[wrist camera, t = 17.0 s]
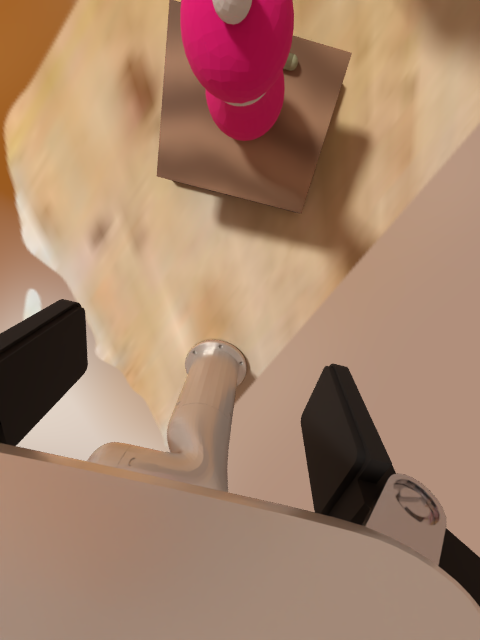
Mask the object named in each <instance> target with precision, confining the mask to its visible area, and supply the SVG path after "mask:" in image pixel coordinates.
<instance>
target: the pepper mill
mask: <svg viewBox="0 0 480 640" xmlns="http://www.w3.org/2000/svg"><path fill="white" fill-rule="evenodd" d="M180 27H181V36H182V42H183V46H184V50H185V54H186V57H187V60H188V62H189V65H190V67H191V69H192V72H193V73H194V75H195V76H196V78H197V79H198V81H199V82H200V83H201V85H202V86H203V87H204V88H205V89H206V93H205V94H206V100H207V105H208V108H209V111H210V114H211V116H212V119H213V121H214V122H215V124H216V125H217V127H218V128H219V129H220V130H221V131H222V132H223V133H225V134H226V135H227V136H229V137H231V138H233V139H236V140H241V141H248V140H254V139H256V138H259V137H260V136H262V135H264V134H265V133H266V132H267V131H269V130H270V128H271V127H272V126H273V125H274V123H275V122H276V120H277V119H278V116H279V114H280V112H281V109H282V106H283V101H284V92H285V85H284V74H283V68H284V66H285V64H286V61H287V59H288V56H289V52H290V49H291V44H292V36H293V28H294V11H293V2H292V0H181V8H180Z"/></svg>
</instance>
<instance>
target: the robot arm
mask: <svg viewBox="0 0 480 640" xmlns="http://www.w3.org/2000/svg"><path fill="white" fill-rule="evenodd" d="M87 365H88V361H87V341H86V320H85V310H84V308H81V305H80V304H79V303H77V302H72V301H69V300H64V299H61V300H59V301H57V302H55V303H53V304H52V305H50V306H49V307H46V308H45V309H43V310H41V311H39V312H38V313H36V314H34V315H32V316H31V317H29V318H27V319H25V320H24V321H22V322H20V323H18V324H17V325H15V326H13V327H11V328H10V329H8V330H6V331H4V332H3V333H1V334H0V640H480V557H478V556H477V555H476V554H475V553H474V552H472V550H470V549H469V548H468V547H467V546H466V545H465V544H464V543H462V542H461V541H460V540H459V539H458V538H457V537H456V536H454V535H453V534H452V533H451V532H450V531H449V530H448V529H446V516H445V513H444V510H443V508H442V506H441V505H440V503H439V501H438V500H437V498H436V497H435V496H434V495H433V494H432V493H431V491H430V490H428V489H427V488H426V487H425V486H424V485H423V484H422V483H420V482H419V481H417V480H416V479H414V478H412V477H410V476H407V475H405V474H398V473H397V474H396V473H395V471H394V468H393V466H392V462H391V460H390V458H389V456H388V454H387V452H386V449H385V447H384V445H383V443H382V441H381V438H380V436H379V434H378V432H377V430H376V428H375V426H374V423H373V421H372V419H371V417H370V415H369V412H368V410H367V408H366V406H365V404H364V402H363V400H362V397H361V395H360V393H359V391H358V389H357V386H356V384H355V382H354V380H353V378H352V375H351V373H350V371H349V369H348V368H347V367H344V366H340V365H336V364H331V365H330V366H326V367H325V368H324V369H323V372H322V374H321V376H320V378H319V380H318V382H317V384H316V387H315V388H314V390H313V393H312V395H311V397H310V399H309V401H308V403H307V405H306V408H305V409H304V412H303V414H302V417H301V427H302V433H303V440H304V446H305V452H306V459H307V466H308V472H309V478H310V485H311V491H312V497H313V504H314V510H315V513H314V512H310V511H306V510H302V509H298V508H293V507H290V506H285V505H282V504H277V503H273V502H268V501H264V500H259V499H255V498H250V497H246V496H241V495H237V494H232V493H228V480H227V479H228V478H227V461H228V448H229V440H230V431H231V423H232V416H233V408H234V401H235V393H236V387H237V386H238V385H239V384H241V382H242V381H243V380H244V377H245V375H246V361H245V358H244V356H243V355H242V353H241V352H240V351H239V350H238V349H237V348H236V347H234V346H233V345H231V344H229V343H227V342H224V341H221V340H207V341H203V342H200V343H198V344H196V345H195V346H194V347H193V348H192V349H191V350H190V351H189V353H188V355H187V357H186V361H185V369H186V372H187V374H188V376H187V378H186V381H185V383H184V386H183V388H182V391H181V393H180V396H179V398H178V401H177V403H176V406H175V408H174V411H173V413H172V416H171V419H170V421H169V424H168V429H167V440H168V445H169V449H170V452H171V453H170V452H162V451H158V450H153V449H149V448H144V447H140V446H135V445H130V444H125V443H119V442H111V443H107V444H104V445H102V446H101V447H99V448H98V449H97V450H95V451H94V453H93V454H92V455H91V456H90V457H89V459H88V460H87V461H82V460H78V459H73V458H68V457H63V456H58V455H54V454H49V453H44V452H40V451H35V450H31V449H26V448H20V447H16V445H17V444H18V443H19V442H20V441H21V440H22V439H23V438H24V437H25V436H26V435H27V433H28V432H29V431H30V430H31V429H32V428H33V427H34V426H35V425H36V424H37V423H38V422H39V421H40V420H41V419H42V418H43V416H45V415H46V413H47V412H48V411H49V410H50V409H51V408H52V407H53V406H54V405H55V404H56V403H57V402H58V401H59V400H60V399H61V398H62V397H63V395H64V394H65V393H66V392H67V391H68V390H69V389H70V388H71V387H72V386H73V385H74V384H75V383H76V382H77V381H78V380H79V379H80V377H81V376H82V375H83V374H84V373H85V371H86V369H87Z"/></svg>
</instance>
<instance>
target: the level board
mask: <svg viewBox="0 0 480 640" xmlns="http://www.w3.org/2000/svg"><path fill="white" fill-rule="evenodd" d="M180 8H181V2H178V1H174V0H170V1H169V15H168V29H167V42H166V56H165V70H164V84H163V97H162V111H161V125H160V138H159V152H158V166H157V176H158V177H162V178H166V179H169V180H173V181H177V182H181V183H185V184H189V185H193V186H197V187H201V188H205V189H209V190H212V191H216V192H220V193H224V194H228V195H232V196H236V197H240V198H244V199H248V200H251V201H255V202H259V203H263V204H267V205H271V206H275V207H279V208H283V209H287V210H290V211H294V212H298V213H301V212H302V209H303V206H304V203H305V200H306V196H307V193H308V190H309V187H310V184H311V181H312V177H313V174H314V171H315V168H316V165H317V162H318V158H319V155H320V152H321V149H322V146H323V143H324V139H325V136H326V133H327V130H328V127H329V124H330V120H331V117H332V114H333V111H334V108H335V105H336V101H337V98H338V95H339V92H340V89H341V86H342V82H343V79H344V76H345V73H346V70H347V67H348V63H349V60H350V57H351V54H352V53H350V52H346V51H343V50H340V49H336V48H333V47H330V46H326V45H323V44H319V43H316V42H313V41H309V40H306V39H303V38H299V37H296V36H292V44H291V49H290V52H289V56H288V59H287V61H286V64H285V66H284V68H283V74H284V85H285V92H284V101H283V106H282V109H281V112H280V114H279V116H278V119H277V120H276V122H275V123H274V125H273V126H272V127H271V128H270V130H269V131H267V132H266V133H265V134H264V135H262V136H260V137H259V138H256V139H254V140H248V141H241V140H236V139H233V138H231V137H229V136H227V135H226V134H225V133H223V132H222V131H221V130H220V129H219V128H218V127H217V125H216V124H215V122H214V121H213V119H212V116H211V114H210V111H209V108H208V105H207V100H206V94H205V93H206V89H205V88H204V87H203V86H202V85H201V83H200V82H199V81H198V79H197V78H196V76H195V75H194V73H193V72H192V69H191V67H190V65H189V62H188V60H187V57H186V54H185V50H184V46H183V42H182V36H181V27H180Z"/></svg>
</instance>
